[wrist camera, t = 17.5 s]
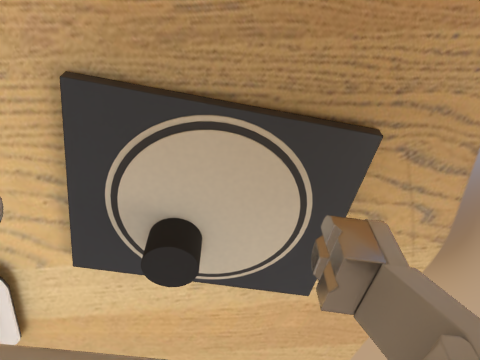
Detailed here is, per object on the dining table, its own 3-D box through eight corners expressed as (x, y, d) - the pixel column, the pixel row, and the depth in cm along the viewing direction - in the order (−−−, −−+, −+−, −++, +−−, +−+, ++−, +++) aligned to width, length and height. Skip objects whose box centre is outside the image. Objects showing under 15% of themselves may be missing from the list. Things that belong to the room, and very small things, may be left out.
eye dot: (205, 221, 27) (203, 251, 25) (198, 260, 29) (195, 290, 27) (150, 213, 27) (142, 243, 24) (147, 253, 29) (139, 283, 26)
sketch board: (379, 129, 25) (385, 138, 23) (307, 287, 33) (309, 299, 32) (65, 70, 22) (56, 77, 21) (76, 257, 31) (71, 269, 30)
